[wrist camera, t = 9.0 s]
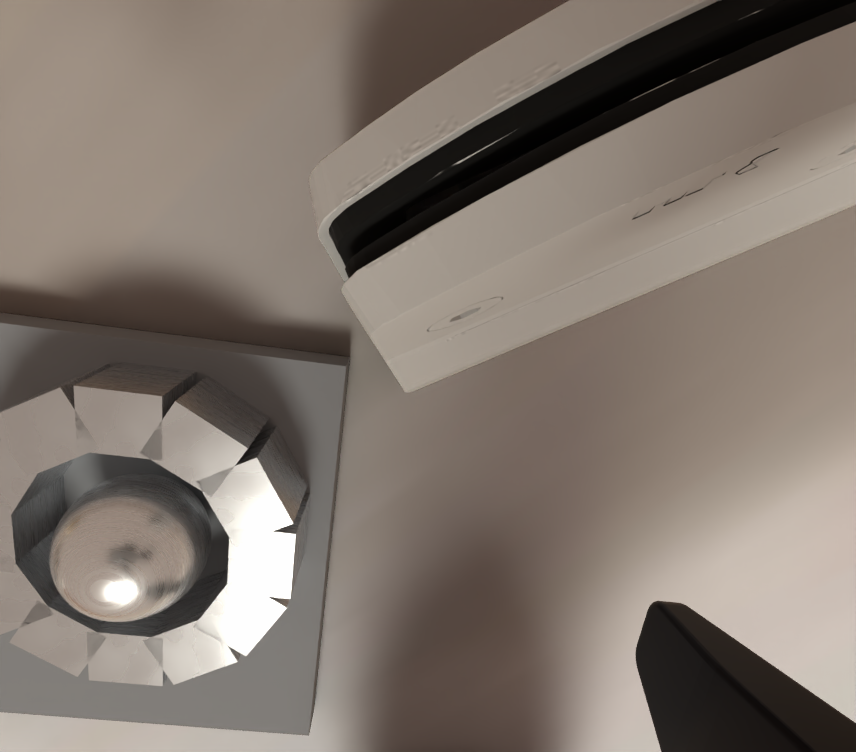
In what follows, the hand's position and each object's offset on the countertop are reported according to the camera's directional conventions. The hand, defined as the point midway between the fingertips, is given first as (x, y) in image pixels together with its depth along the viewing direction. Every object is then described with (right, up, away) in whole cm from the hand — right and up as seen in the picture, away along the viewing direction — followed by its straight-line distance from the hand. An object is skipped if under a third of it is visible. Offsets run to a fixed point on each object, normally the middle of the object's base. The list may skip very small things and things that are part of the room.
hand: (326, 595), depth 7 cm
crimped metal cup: (-8, -2, +12) cm, 14 cm away
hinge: (+7, +9, +10) cm, 15 cm away
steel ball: (-8, -2, +9) cm, 12 cm away
